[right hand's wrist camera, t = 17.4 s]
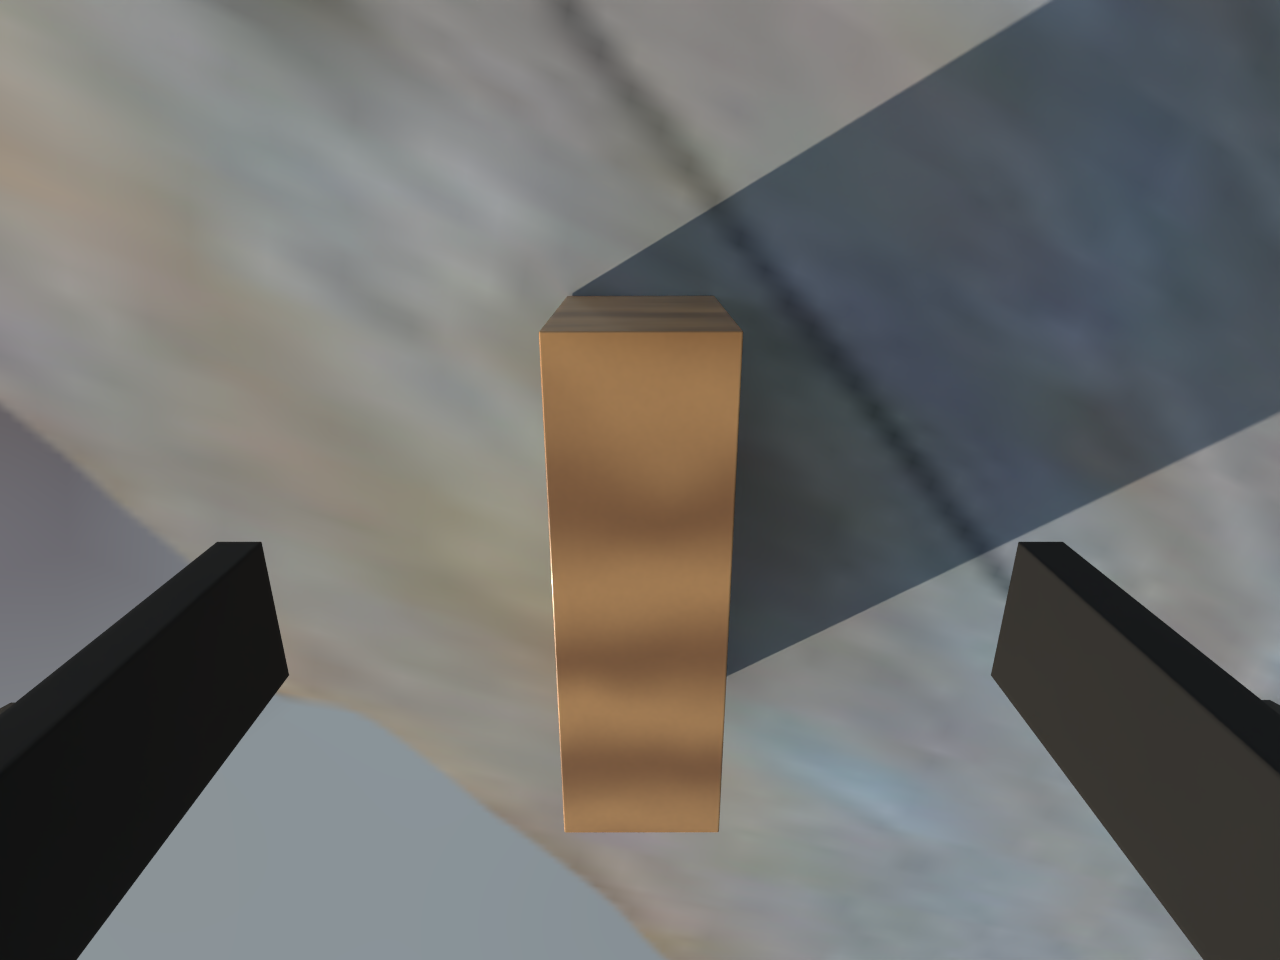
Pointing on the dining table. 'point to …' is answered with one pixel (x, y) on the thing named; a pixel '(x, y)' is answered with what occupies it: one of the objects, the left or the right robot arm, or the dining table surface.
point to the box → (641, 553)
